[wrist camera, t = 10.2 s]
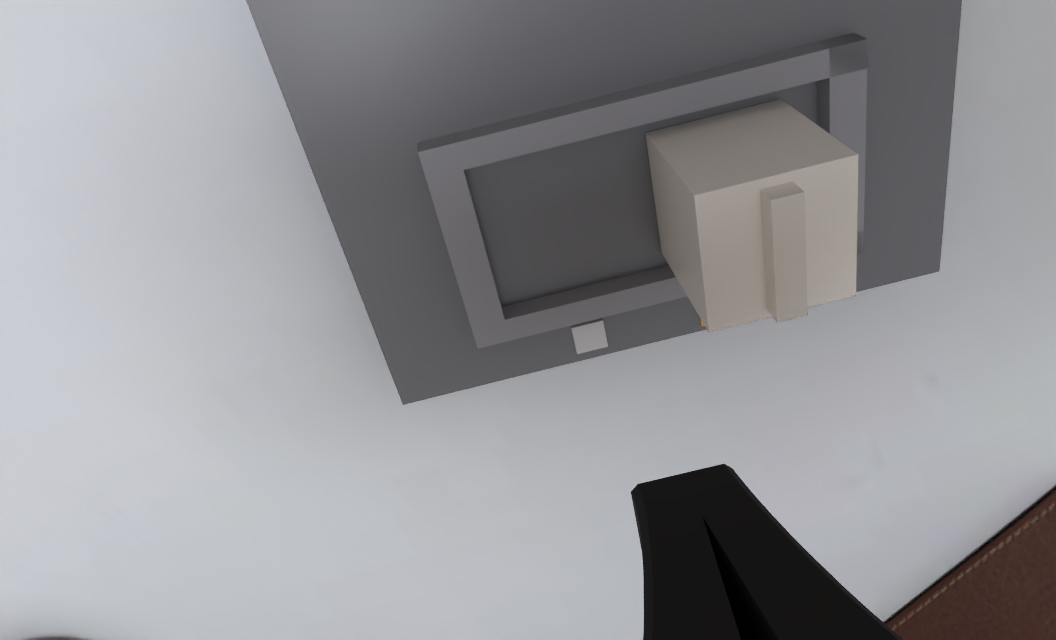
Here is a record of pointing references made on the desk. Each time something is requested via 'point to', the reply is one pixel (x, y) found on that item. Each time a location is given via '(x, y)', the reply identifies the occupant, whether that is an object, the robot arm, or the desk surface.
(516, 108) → the switch bank
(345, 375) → the desk surface
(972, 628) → the letter holder
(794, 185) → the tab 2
